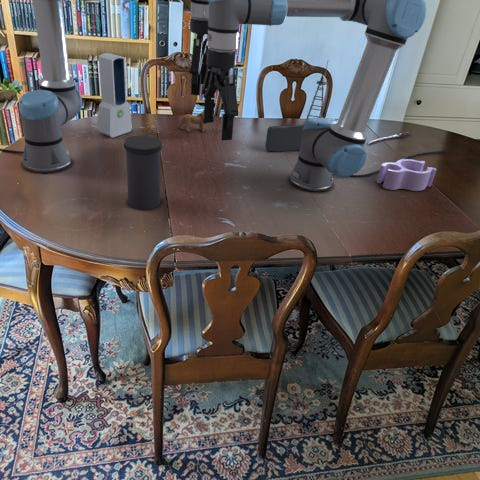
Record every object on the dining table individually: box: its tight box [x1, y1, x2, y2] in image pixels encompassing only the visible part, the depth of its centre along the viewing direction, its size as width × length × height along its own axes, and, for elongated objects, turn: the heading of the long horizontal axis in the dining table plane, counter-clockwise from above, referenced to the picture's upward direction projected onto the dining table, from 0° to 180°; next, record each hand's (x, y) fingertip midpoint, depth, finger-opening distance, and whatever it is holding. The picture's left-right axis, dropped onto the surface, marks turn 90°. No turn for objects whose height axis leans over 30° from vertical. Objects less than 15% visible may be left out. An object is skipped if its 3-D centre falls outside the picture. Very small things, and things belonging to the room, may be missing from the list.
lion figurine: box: [177, 109, 208, 133], centre depth 197 cm, size 15×5×9 cm, turn 110°
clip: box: [376, 158, 437, 192], centre depth 171 cm, size 20×12×7 cm, turn 109°
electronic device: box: [96, 52, 133, 139], centre depth 181 cm, size 12×8×30 cm, turn 148°
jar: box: [125, 150, 161, 211], centre depth 139 cm, size 10×10×19 cm
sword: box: [367, 133, 409, 145], centre depth 213 cm, size 31×3×1 cm, turn 126°
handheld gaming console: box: [264, 124, 304, 152], centre depth 189 cm, size 23×3×10 cm, turn 108°
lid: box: [123, 135, 163, 155], centre depth 134 cm, size 11×11×2 cm
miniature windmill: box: [305, 61, 329, 121], centre depth 210 cm, size 9×8×30 cm
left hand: (199, 89), depth 153 cm, fingers open, 13 cm apart
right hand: (217, 130), depth 129 cm, fingers open, 13 cm apart
